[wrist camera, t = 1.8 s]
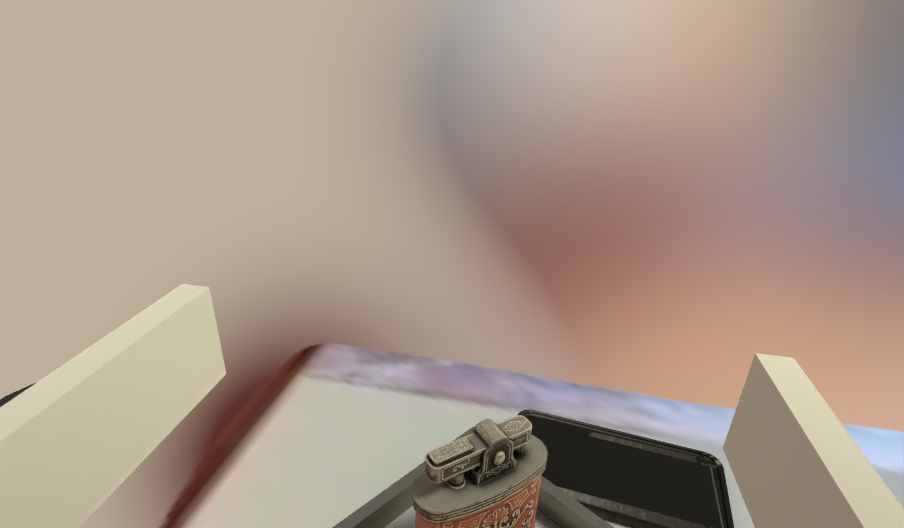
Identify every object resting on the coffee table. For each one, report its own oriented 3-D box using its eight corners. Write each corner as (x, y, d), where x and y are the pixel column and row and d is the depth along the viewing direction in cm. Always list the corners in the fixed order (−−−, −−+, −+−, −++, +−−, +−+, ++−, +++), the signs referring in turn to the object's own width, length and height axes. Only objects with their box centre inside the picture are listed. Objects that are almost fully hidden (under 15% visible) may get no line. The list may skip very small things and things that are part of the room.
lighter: (514, 510, 33) (527, 388, 29) (547, 552, 31) (567, 426, 26) (402, 568, 30) (399, 438, 25) (429, 621, 27) (430, 487, 23)
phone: (738, 550, 30) (495, 479, 35) (733, 562, 31) (494, 490, 35) (720, 454, 37) (520, 405, 41) (717, 466, 37) (519, 416, 42)
